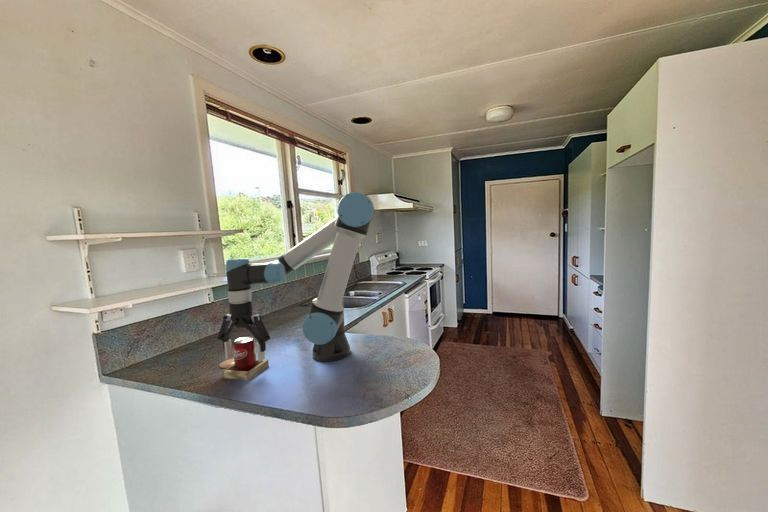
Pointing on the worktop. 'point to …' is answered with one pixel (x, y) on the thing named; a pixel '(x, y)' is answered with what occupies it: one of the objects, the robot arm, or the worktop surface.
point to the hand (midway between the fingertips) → (245, 359)
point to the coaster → (227, 363)
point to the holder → (244, 375)
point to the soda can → (244, 354)
